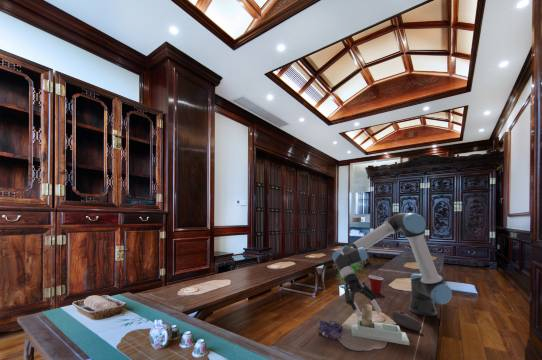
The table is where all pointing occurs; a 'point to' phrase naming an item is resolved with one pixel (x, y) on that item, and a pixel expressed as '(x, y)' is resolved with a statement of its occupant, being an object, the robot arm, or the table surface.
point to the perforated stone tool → (406, 321)
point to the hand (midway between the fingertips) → (370, 314)
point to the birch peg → (366, 315)
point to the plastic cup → (375, 284)
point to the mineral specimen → (330, 329)
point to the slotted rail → (380, 332)
